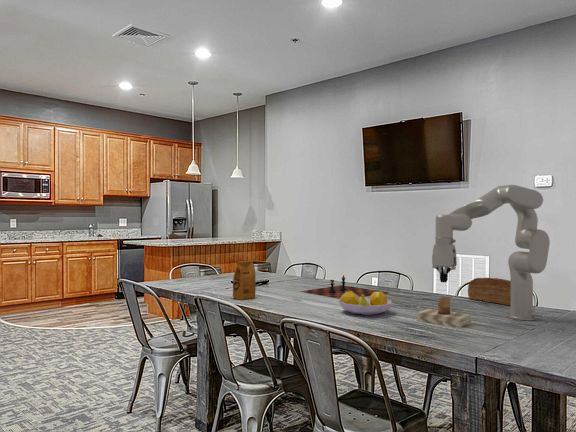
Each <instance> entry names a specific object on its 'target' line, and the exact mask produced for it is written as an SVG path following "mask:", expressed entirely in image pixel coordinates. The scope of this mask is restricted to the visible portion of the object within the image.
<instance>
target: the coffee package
mask: <svg viewBox="0 0 576 432" xmlns="http://www.w3.org/2000/svg"><path fill="white" fill-rule="evenodd" d="M236 264H237V266H236V268H235V269H236V270H235V272H234V275H233V279H232V297H233V299H235V300H239V301H243V300H251V299H255V298H256V287H257V286H256V285H257V284H256V282H257V280H256V270H255V267H254V263H253V260H247V261H244V260H242V261H241V260H240V261H239V260H237V261H236Z"/></svg>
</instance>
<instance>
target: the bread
mask: <svg viewBox="0 0 576 432" xmlns="http://www.w3.org/2000/svg"><path fill="white" fill-rule="evenodd" d="M467 296H468V298H469V299H470V298H471V299H470V300H474V301H481V302H487V303H493V304H494V303H496V304H500V305H504V306H505V305H506V306H511V280H508V279H504V278H498V277H477V278H473V279H472V280H471V281H469V283H468V285H467ZM477 299H478V300H477ZM482 300H483V301H482Z"/></svg>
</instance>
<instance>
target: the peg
mask: <svg viewBox="0 0 576 432" xmlns="http://www.w3.org/2000/svg"><path fill="white" fill-rule="evenodd" d="M437 310H438V314H443V315H448V314H450V312H451V298H450V297H446V296H439V297H437Z"/></svg>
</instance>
